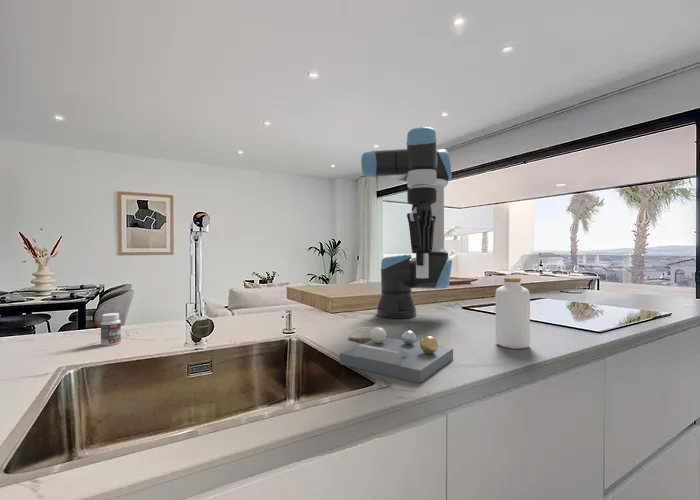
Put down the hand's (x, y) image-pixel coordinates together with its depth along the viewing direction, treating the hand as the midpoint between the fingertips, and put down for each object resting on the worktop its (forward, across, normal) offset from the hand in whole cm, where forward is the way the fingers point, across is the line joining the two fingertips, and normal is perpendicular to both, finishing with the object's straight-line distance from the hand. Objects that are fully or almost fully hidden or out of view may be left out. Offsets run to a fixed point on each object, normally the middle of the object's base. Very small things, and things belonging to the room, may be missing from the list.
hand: (422, 277), depth 94 cm
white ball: (+14, +11, -7) cm, 19 cm away
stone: (+19, -1, -17) cm, 26 cm away
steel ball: (+14, +8, 0) cm, 16 cm away
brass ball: (+14, +12, +7) cm, 20 cm away
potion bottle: (+19, -15, +19) cm, 31 cm away
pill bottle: (+19, +46, -74) cm, 89 cm away
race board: (+18, +14, 0) cm, 23 cm away
